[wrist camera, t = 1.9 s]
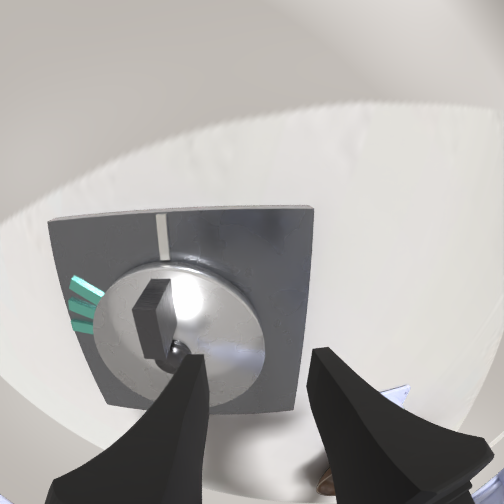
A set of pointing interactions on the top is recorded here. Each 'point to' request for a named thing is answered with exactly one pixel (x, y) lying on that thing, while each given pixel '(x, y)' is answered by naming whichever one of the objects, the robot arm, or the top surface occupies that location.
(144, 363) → the dial
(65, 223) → the panel
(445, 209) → the top surface
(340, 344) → the top surface
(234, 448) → the top surface
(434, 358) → the top surface
